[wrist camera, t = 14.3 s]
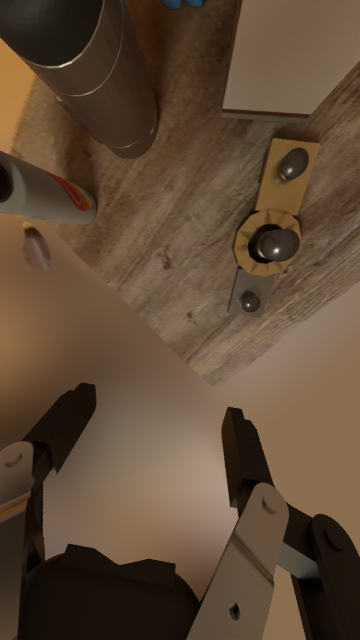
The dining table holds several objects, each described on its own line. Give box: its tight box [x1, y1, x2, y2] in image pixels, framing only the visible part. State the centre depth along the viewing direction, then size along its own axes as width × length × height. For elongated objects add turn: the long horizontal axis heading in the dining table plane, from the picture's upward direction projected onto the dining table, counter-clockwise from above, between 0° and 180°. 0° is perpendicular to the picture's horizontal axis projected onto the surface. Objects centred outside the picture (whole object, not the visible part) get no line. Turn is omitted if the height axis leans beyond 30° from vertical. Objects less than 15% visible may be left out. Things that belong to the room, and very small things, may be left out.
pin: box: [250, 229, 300, 262], centre depth 29 cm, size 4×4×9 cm
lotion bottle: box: [0, 151, 97, 224], centre depth 24 cm, size 6×6×20 cm
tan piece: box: [227, 138, 321, 318], centre depth 31 cm, size 10×26×4 cm, turn 173°
